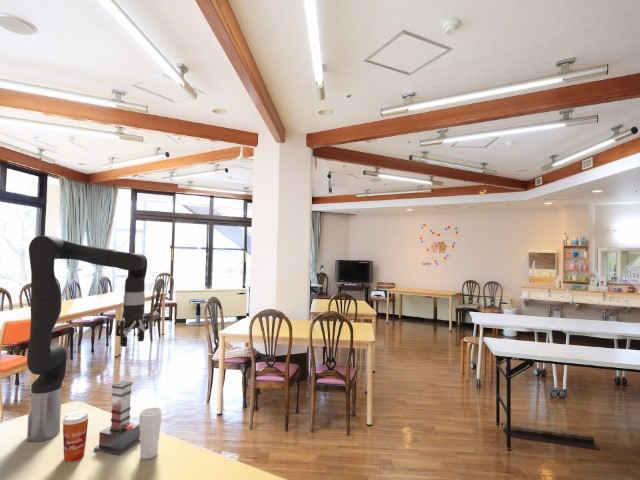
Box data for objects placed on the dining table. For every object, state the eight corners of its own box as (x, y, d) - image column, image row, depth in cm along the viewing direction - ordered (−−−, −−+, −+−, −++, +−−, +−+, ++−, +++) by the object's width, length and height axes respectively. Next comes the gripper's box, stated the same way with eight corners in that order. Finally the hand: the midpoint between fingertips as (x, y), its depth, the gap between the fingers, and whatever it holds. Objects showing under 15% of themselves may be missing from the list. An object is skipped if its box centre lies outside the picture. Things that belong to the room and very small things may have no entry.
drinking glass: (151, 462, 115) (152, 416, 116) (133, 460, 117) (135, 414, 117) (164, 451, 122) (165, 408, 122) (147, 449, 123) (148, 406, 124)
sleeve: (119, 456, 119) (119, 434, 119) (94, 450, 122) (94, 429, 122) (143, 439, 129) (144, 420, 129) (120, 434, 132) (120, 415, 132)
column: (120, 434, 123) (122, 387, 123) (109, 432, 124) (111, 385, 125) (130, 428, 127) (132, 382, 128) (120, 426, 128) (122, 380, 129)
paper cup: (57, 466, 112) (60, 422, 113) (62, 454, 119) (64, 412, 120) (86, 460, 116) (88, 417, 117) (89, 448, 123) (91, 408, 123)
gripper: (140, 300, 147) (138, 338, 147) (111, 304, 133) (109, 347, 133) (154, 301, 145) (153, 340, 144) (127, 306, 131) (125, 349, 131)
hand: (132, 343), depth 139 cm, fingers open, 8 cm apart
